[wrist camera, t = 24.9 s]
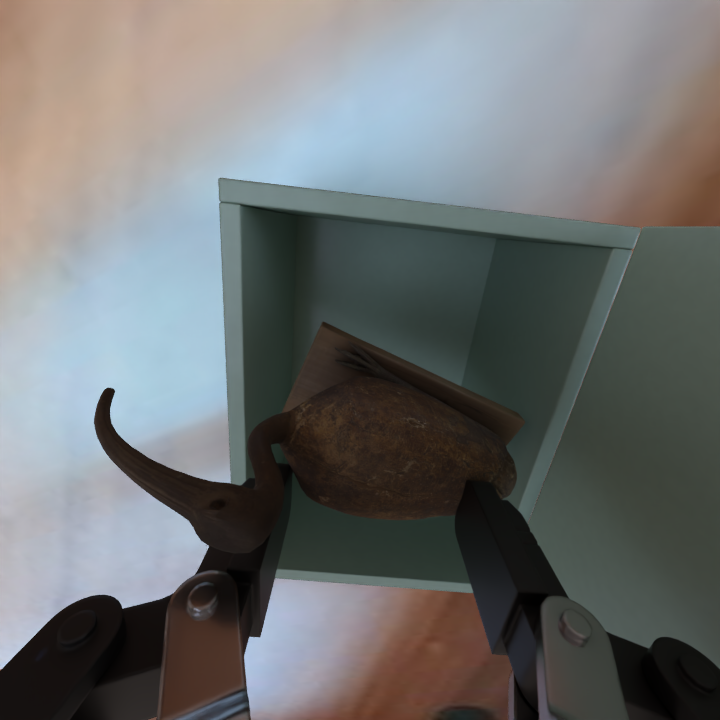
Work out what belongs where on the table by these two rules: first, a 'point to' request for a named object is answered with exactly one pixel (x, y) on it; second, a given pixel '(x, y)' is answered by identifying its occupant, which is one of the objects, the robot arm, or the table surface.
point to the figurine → (343, 447)
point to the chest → (408, 339)
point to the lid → (646, 454)
